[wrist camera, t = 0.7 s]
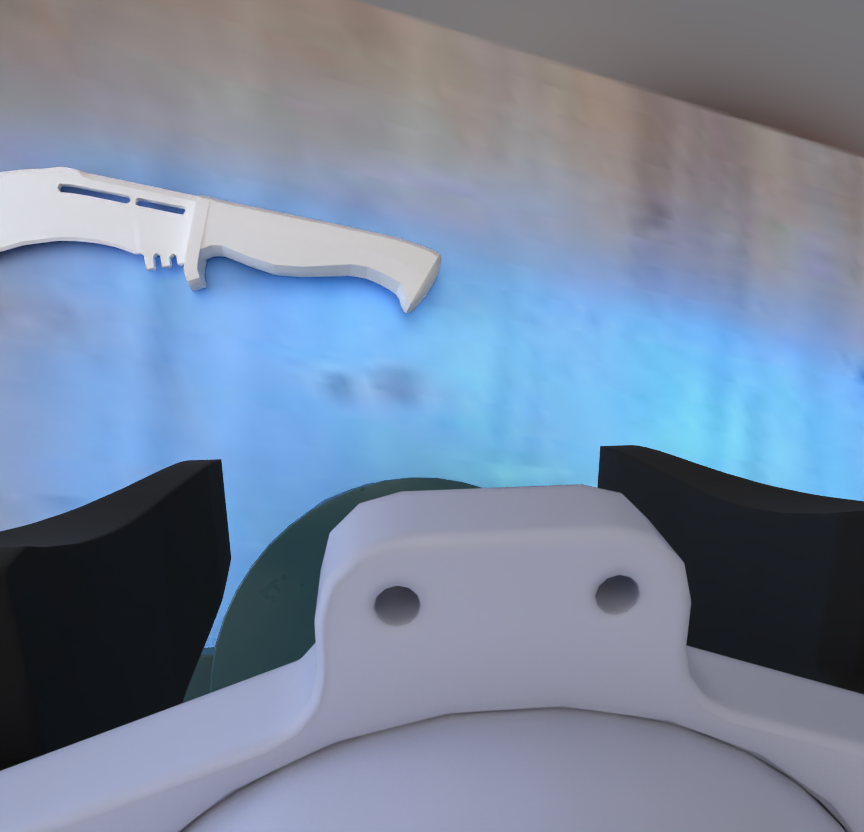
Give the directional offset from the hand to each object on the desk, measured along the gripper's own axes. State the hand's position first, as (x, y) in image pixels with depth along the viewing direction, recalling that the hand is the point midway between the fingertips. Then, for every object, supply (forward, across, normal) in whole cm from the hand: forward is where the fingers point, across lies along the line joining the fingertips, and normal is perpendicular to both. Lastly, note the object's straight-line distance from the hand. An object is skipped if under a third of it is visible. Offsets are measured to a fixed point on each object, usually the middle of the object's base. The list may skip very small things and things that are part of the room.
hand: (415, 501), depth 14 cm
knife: (+19, +13, -2) cm, 23 cm away
